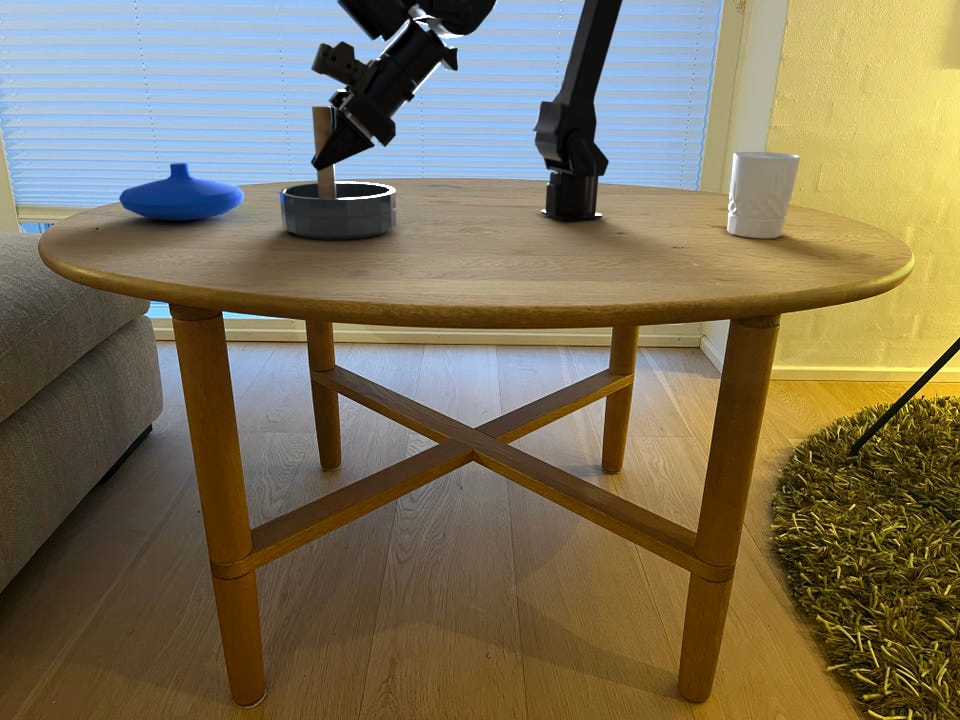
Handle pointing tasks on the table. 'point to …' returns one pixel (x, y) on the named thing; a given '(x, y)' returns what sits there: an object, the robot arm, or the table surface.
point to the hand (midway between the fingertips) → (314, 166)
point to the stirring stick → (321, 134)
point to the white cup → (760, 193)
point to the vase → (181, 197)
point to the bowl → (338, 211)
